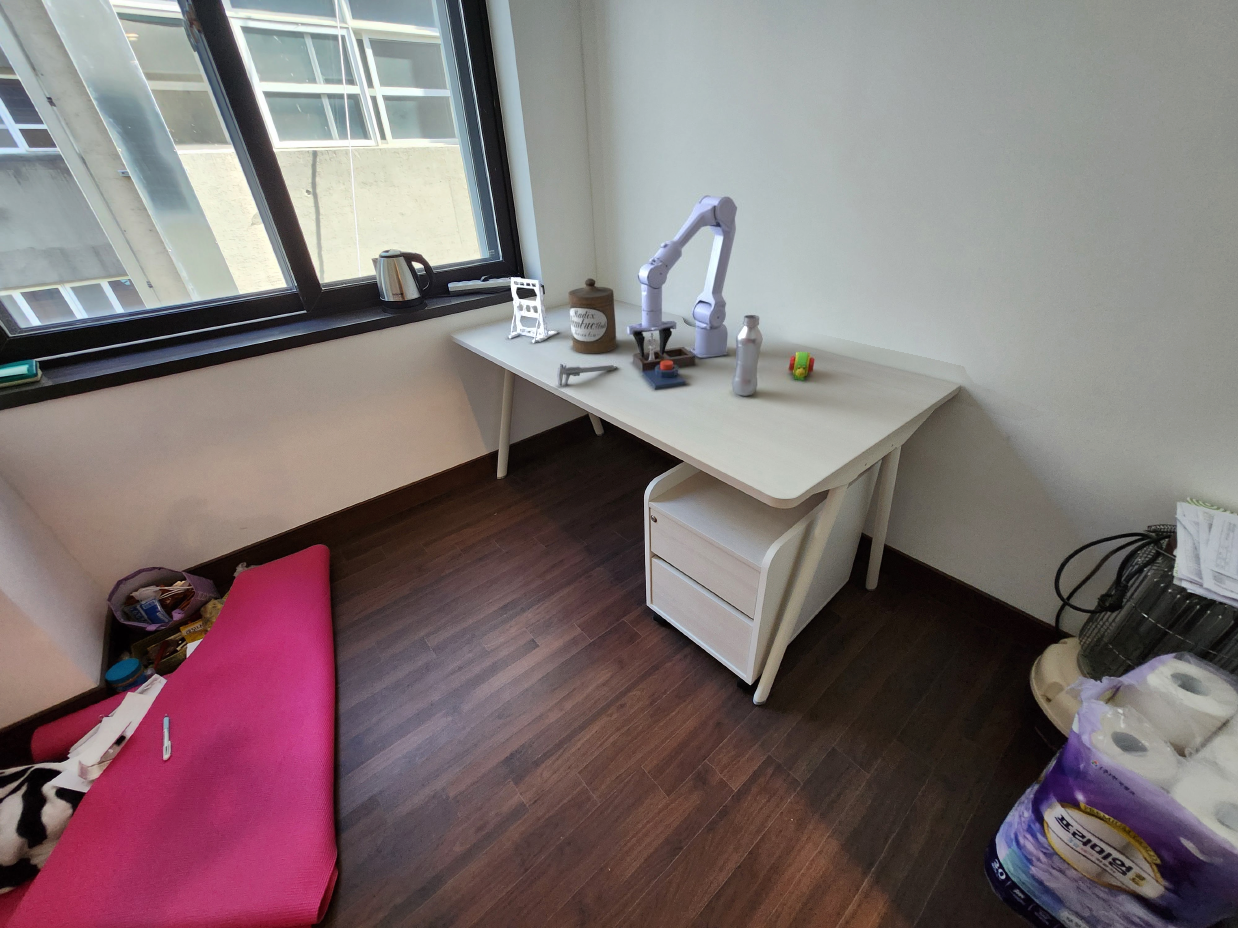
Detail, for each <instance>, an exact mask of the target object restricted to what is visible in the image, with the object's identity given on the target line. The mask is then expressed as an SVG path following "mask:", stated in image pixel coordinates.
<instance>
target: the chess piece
mask: <svg viewBox="0 0 1238 928" xmlns="http://www.w3.org/2000/svg"><path fill="white" fill-rule="evenodd" d="M655 343H656V339H655V338H654V333H653V332H651V333H650V338H649V339H648V344H649V346H648V350H649V351H650V357H649V360H655V358H654V351H655V349H656V346H655Z"/></svg>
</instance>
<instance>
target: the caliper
mask: <svg viewBox="0 0 1238 928" xmlns="http://www.w3.org/2000/svg"><path fill="white" fill-rule="evenodd" d="M617 368H618V367H617V366H615V365H614V364H601V365H590V366H580V365H573V366H567V363H563V364H562V363H560V364H559V367H558V368H557V375H556V377H557V384H558V385H559V386H561V387H562V386H563V385H564V386H567V385H568V383H569V380H570V377H571V376H573V377H576V376H577V377H580V375H581V374H584V373H597V372H604V371H605V372H608V371H613V370H614V369H617Z"/></svg>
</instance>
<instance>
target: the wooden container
mask: <svg viewBox="0 0 1238 928" xmlns="http://www.w3.org/2000/svg"><path fill="white" fill-rule="evenodd" d="M584 285H585V286H584V287H579V288H575V289H571V290H570V291H568V294H567V295H568V296H567V297H568V305H569V314H570V332H571V343H572V349H573V350H574V351H576V352H578V353H582V354H592V355H593V354H603V353H607V352H610V351H612V350H614V349H616V347H617V324H616V313H615V295H614V290H613V288H610V287H605V286H596V279H594V278H591V277H590V278H587V279H585V281H584Z"/></svg>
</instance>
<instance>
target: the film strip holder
mask: <svg viewBox="0 0 1238 928" xmlns="http://www.w3.org/2000/svg"><path fill="white" fill-rule="evenodd" d="M516 282H517V283H518V284H516ZM521 283H523V285H521ZM527 284H529V286H528V285H527ZM533 284H535V286H533ZM510 288H511V290H510V291H511V296H512V299H513V301H512V302H513V303H512V304H513V310H514V312H513V316H512V317H513V318H512V321H511V327H510V334H509V335H508V339H511V340H512V339H513V338H517V337H518V336H520V335H521V336H528V337H533V340H531V342H532V344H536V343H538V342H543V341H545V340H547V339H548V338H550V337H553V336H555V335H558V331H557V330H549V329H548V324H547V323H548V322H546V320H545V319H547V314H546V306H545V305H544V301H545V297H544V290H543V286H542V285H541V279H530V278H529V279H528V278H519V277H513V276H512V277H510ZM518 288H525V289H532V290H534V292H535V294H536V299H535V300H529V299H522V298H521V299H520V298H519V296H518V295H517V290H518ZM520 305H522V310H520V309H521V308H520ZM527 306H529V308H530V311H528V309H527ZM534 307H537V312H535V309H534ZM522 317H529V318H535V319H537V321H536V326H535V327H526V326H523V324H522V322H521V318H522ZM515 323H516V330H517V331H514V328H515V327H514V326H515ZM539 324H540V325H539Z"/></svg>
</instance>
